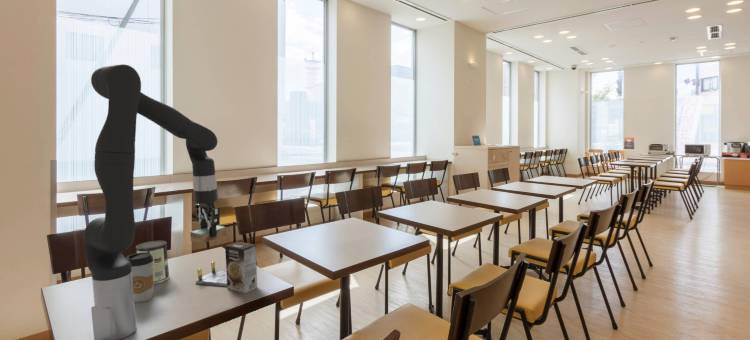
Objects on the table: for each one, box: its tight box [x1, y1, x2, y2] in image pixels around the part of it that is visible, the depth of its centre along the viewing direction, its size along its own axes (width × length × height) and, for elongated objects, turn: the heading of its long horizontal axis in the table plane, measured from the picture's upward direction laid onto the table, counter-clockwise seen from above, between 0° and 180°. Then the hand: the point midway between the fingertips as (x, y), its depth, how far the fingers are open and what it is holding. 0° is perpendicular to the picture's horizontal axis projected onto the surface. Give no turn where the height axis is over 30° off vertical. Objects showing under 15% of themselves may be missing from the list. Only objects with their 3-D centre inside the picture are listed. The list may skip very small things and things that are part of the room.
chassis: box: [195, 260, 227, 287], centre depth 150 cm, size 11×14×5 cm
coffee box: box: [224, 241, 258, 294], centre depth 141 cm, size 9×6×16 cm
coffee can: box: [135, 240, 170, 285], centre depth 150 cm, size 10×10×14 cm
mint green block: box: [189, 225, 227, 244], centre depth 138 cm, size 10×6×3 cm, turn 147°
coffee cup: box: [125, 252, 154, 303], centre depth 134 cm, size 8×8×15 cm
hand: (208, 235), depth 138 cm, fingers closed on mint green block, 6 cm apart
